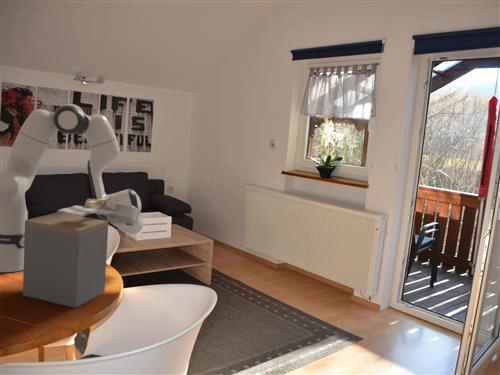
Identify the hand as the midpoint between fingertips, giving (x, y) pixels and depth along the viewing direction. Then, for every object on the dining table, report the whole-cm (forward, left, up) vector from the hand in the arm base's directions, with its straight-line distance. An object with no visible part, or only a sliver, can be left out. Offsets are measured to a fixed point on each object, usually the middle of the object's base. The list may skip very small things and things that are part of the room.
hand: (101, 201), depth 167 cm
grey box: (-5, -13, -32) cm, 34 cm away
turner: (0, -7, -2) cm, 7 cm away
